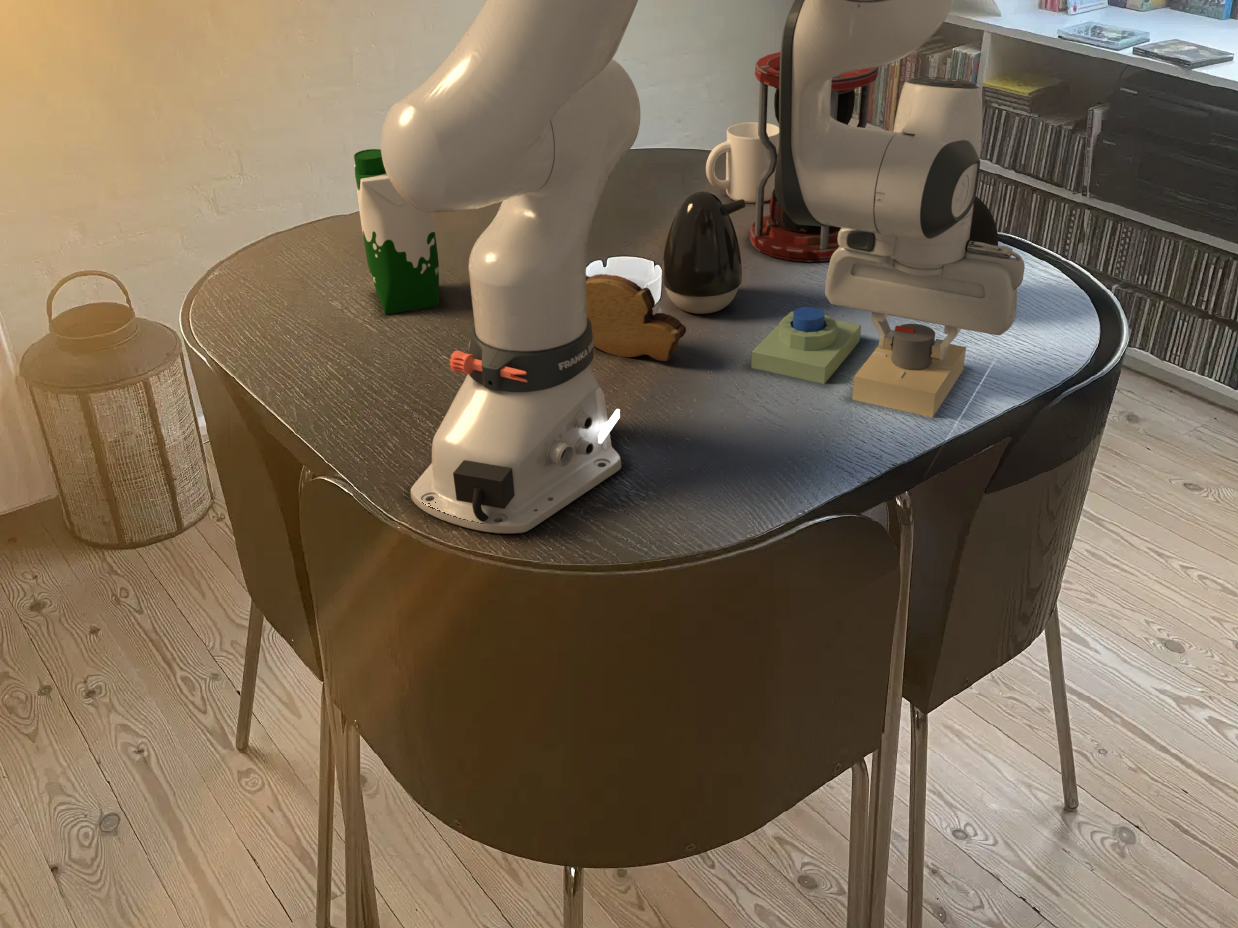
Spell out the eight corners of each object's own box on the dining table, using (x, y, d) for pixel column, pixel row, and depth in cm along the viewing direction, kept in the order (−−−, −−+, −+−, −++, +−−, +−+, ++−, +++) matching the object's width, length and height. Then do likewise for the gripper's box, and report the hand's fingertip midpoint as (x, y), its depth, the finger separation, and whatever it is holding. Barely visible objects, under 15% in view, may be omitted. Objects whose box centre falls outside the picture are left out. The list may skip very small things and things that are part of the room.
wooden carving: (692, 356, 139) (693, 278, 134) (677, 373, 136) (676, 294, 131) (570, 333, 146) (566, 257, 140) (553, 348, 142) (547, 272, 137)
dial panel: (932, 417, 126) (936, 392, 124) (852, 399, 130) (854, 374, 128) (963, 370, 134) (966, 345, 133) (886, 354, 138) (889, 330, 137)
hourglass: (736, 226, 174) (740, 53, 161) (840, 216, 176) (852, 44, 163) (769, 268, 161) (776, 82, 147) (880, 256, 163) (898, 72, 150)
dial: (936, 356, 131) (940, 325, 129) (925, 373, 128) (929, 341, 126) (897, 348, 133) (901, 318, 131) (886, 365, 130) (889, 334, 128)
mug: (715, 210, 180) (716, 144, 174) (696, 193, 187) (696, 129, 181) (787, 199, 183) (790, 134, 177) (765, 183, 190) (767, 119, 184)
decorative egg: (926, 277, 157) (939, 167, 149) (1008, 304, 149) (1026, 189, 141) (869, 305, 150) (879, 191, 142) (951, 335, 142) (967, 217, 134)
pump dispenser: (738, 325, 146) (740, 208, 138) (655, 320, 148) (653, 204, 140) (747, 291, 154) (750, 179, 146) (669, 287, 156) (668, 176, 148)
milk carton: (369, 292, 158) (346, 146, 147) (436, 282, 160) (418, 137, 149) (379, 319, 151) (355, 167, 140) (448, 308, 153) (430, 157, 142)
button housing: (824, 384, 133) (826, 352, 131) (751, 368, 137) (752, 337, 134) (860, 341, 141) (862, 311, 139) (790, 327, 145) (791, 297, 143)
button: (817, 336, 135) (818, 322, 134) (788, 330, 136) (788, 316, 136) (828, 323, 138) (829, 310, 137) (799, 318, 139) (800, 304, 138)
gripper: (1034, 239, 120) (1014, 359, 128) (844, 210, 129) (836, 324, 137) (1020, 261, 116) (1000, 384, 123) (823, 230, 124) (816, 346, 132)
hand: (912, 352), depth 130 cm, fingers closed on dial, 4 cm apart
